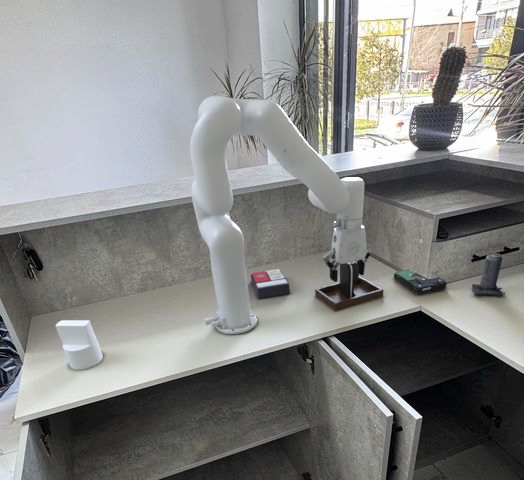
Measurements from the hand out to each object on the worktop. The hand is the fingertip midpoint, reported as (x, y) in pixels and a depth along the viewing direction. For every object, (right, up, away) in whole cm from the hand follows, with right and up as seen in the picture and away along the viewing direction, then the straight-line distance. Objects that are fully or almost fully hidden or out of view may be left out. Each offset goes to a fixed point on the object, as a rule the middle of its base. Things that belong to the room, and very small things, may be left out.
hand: (347, 277), depth 137 cm
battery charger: (+1, -5, +4) cm, 7 cm away
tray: (+1, -6, +4) cm, 7 cm away
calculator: (-24, -1, +15) cm, 29 cm away
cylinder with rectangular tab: (-76, -26, -14) cm, 82 cm away
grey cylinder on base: (+42, -5, -2) cm, 43 cm away
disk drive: (+25, -1, +7) cm, 26 cm away
